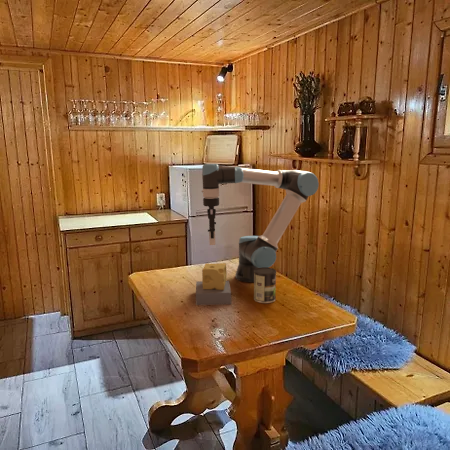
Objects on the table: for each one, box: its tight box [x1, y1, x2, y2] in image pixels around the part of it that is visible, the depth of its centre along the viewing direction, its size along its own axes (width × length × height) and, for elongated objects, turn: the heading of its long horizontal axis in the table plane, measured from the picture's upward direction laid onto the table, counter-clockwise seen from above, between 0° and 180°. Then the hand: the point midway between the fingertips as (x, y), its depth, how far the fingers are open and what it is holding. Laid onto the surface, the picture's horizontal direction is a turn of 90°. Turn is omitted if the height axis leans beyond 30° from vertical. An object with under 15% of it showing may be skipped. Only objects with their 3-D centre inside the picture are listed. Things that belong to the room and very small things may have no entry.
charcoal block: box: [195, 280, 232, 306], centre depth 192 cm, size 16×16×6 cm
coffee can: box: [253, 267, 277, 304], centre depth 190 cm, size 10×10×14 cm
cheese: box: [201, 262, 227, 290], centre depth 192 cm, size 10×11×10 cm
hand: (212, 241), depth 195 cm, fingers open, 13 cm apart
